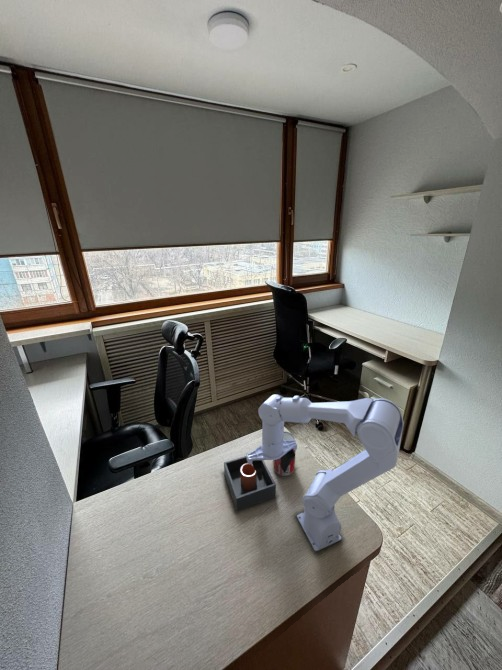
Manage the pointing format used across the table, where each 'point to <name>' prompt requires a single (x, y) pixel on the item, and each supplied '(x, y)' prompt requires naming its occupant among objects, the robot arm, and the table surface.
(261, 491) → the tub
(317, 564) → the table surface
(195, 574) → the table surface
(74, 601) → the table surface
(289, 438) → the soda can
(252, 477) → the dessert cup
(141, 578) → the table surface
